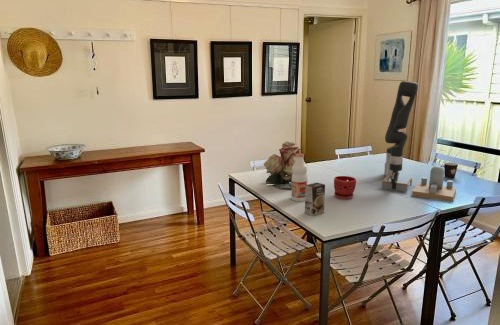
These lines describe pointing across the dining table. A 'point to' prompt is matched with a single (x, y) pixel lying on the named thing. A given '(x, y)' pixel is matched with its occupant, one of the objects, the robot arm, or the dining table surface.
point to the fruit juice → (299, 179)
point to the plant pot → (344, 187)
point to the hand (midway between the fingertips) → (394, 188)
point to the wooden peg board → (435, 186)
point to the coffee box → (314, 199)
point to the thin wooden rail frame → (399, 186)
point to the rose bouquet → (282, 165)
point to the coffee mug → (450, 169)
